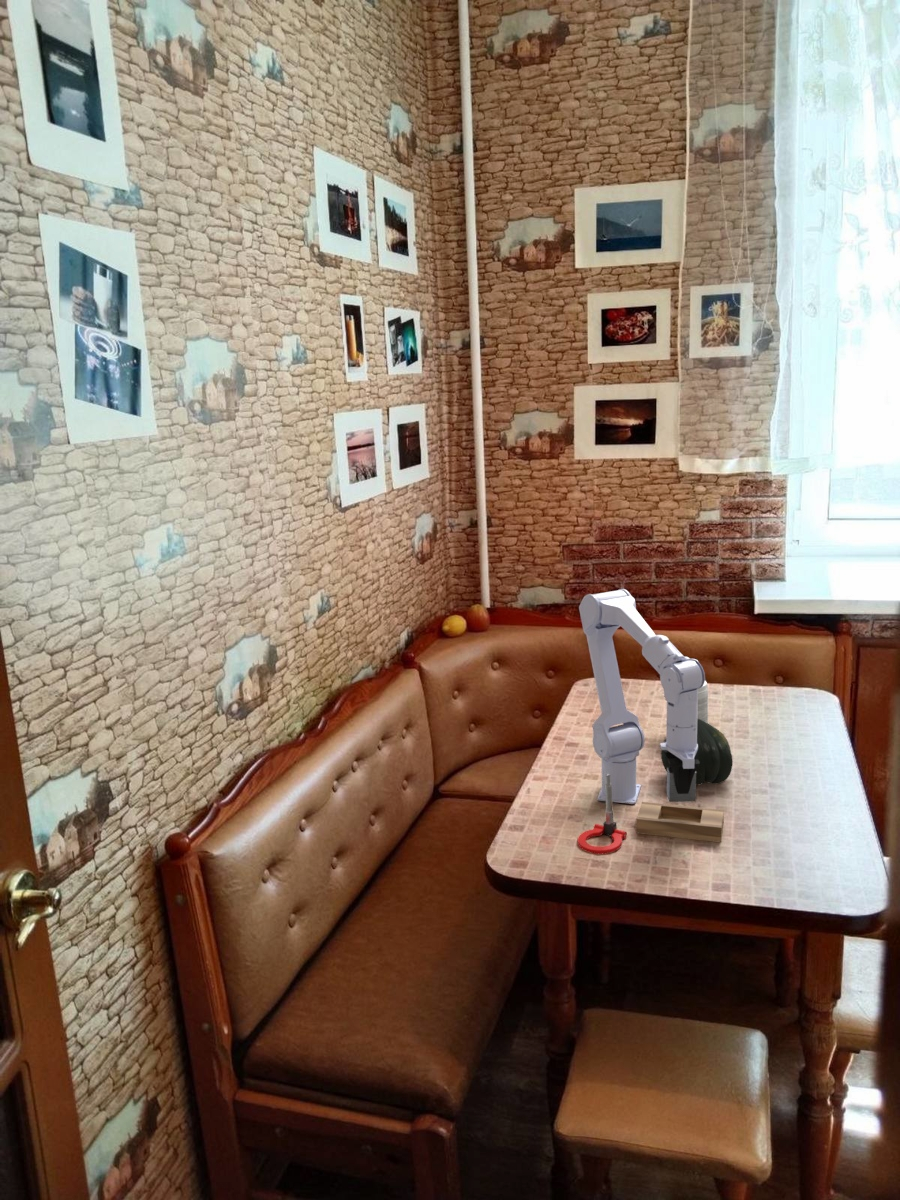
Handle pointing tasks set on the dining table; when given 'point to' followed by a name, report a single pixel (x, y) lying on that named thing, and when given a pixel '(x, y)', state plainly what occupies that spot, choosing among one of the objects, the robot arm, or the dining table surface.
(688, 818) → the open wooden tray
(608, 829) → the tow hook
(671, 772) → the grey rectangular prism
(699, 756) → the squash
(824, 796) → the dining table surface
